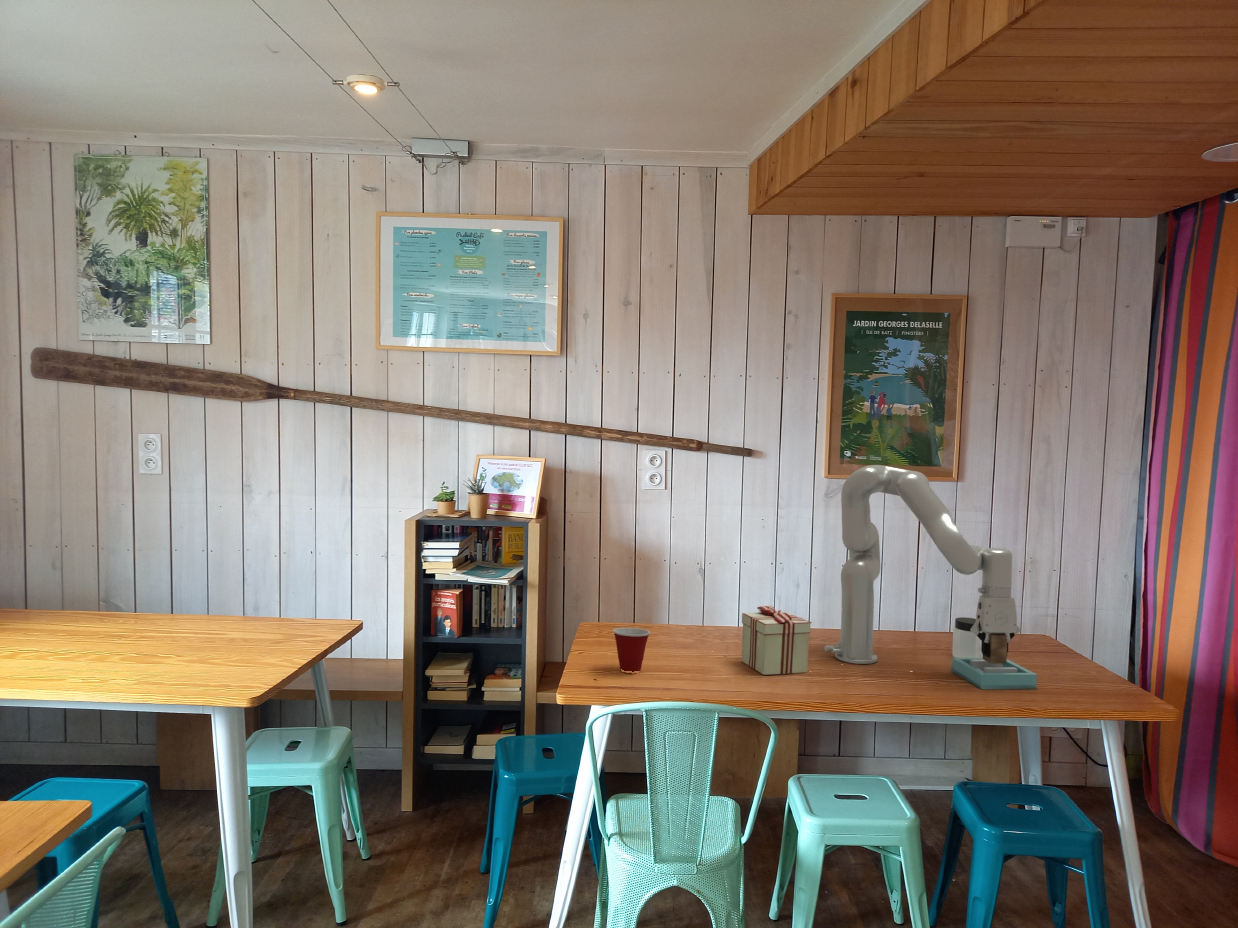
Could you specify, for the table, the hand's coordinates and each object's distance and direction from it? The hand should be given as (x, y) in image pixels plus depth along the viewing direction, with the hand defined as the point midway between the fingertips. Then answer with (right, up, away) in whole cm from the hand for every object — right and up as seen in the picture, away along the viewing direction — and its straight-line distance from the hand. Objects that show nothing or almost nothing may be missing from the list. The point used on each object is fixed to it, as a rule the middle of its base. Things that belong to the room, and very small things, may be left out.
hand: (994, 654), depth 224 cm
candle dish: (0, -7, 0) cm, 7 cm away
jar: (+2, -7, +22) cm, 23 cm away
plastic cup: (-104, -5, +2) cm, 104 cm away
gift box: (-60, -6, +10) cm, 61 cm away
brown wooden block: (0, -2, 0) cm, 2 cm away
